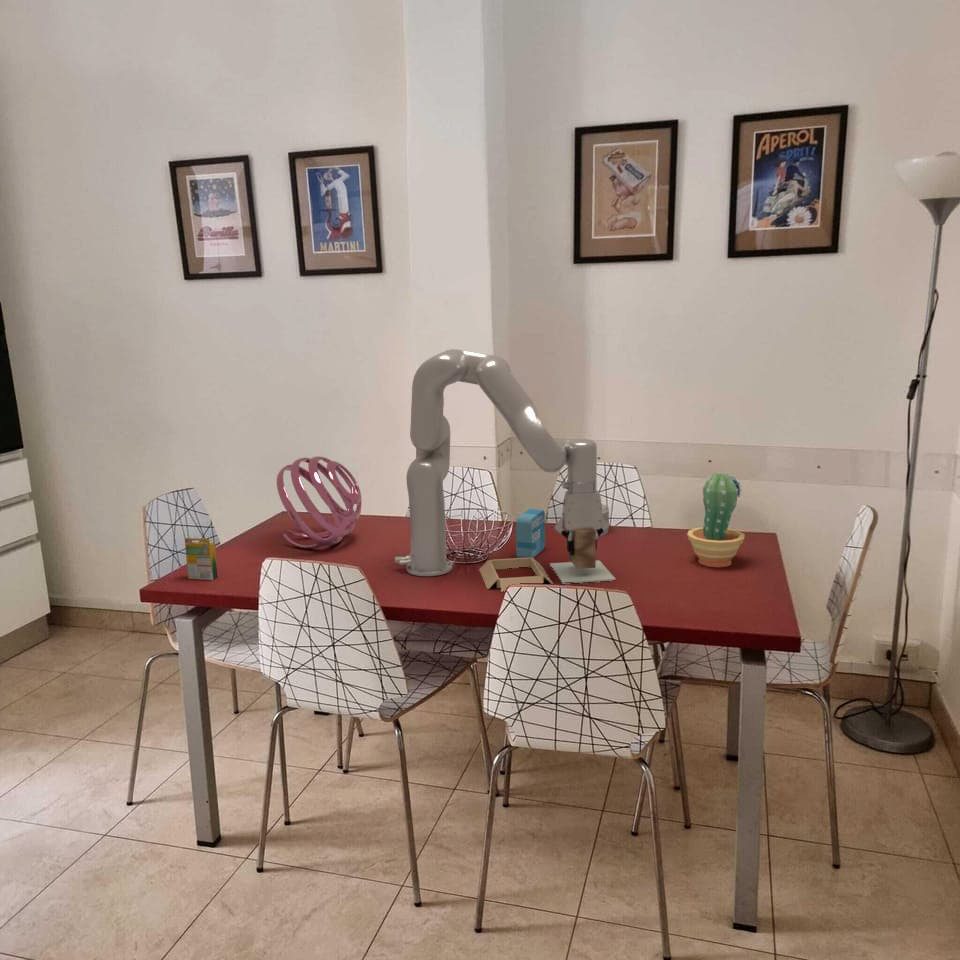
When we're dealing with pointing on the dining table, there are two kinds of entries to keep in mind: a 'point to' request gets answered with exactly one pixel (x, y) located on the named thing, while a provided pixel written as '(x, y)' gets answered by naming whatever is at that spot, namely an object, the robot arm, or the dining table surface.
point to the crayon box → (201, 559)
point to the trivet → (581, 573)
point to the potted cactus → (717, 522)
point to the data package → (530, 533)
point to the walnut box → (584, 549)
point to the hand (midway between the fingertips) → (582, 552)
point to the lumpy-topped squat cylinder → (605, 517)
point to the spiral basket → (340, 515)
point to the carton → (491, 565)
